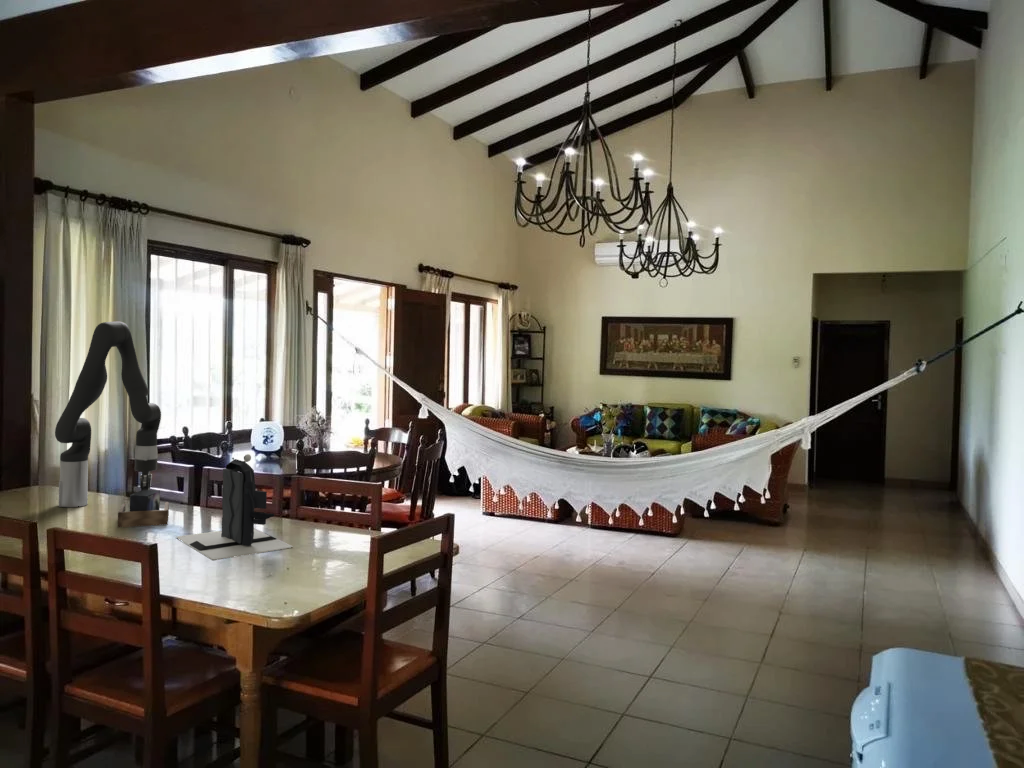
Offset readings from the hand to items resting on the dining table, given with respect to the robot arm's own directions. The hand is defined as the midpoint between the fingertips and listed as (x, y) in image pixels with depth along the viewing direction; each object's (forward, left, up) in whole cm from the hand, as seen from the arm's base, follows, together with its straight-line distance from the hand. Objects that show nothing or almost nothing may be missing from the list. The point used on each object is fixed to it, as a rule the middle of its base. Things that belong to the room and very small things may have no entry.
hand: (145, 503), depth 281 cm
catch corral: (0, -15, -3) cm, 15 cm away
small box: (+1, -15, -4) cm, 16 cm away
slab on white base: (+28, -53, -4) cm, 60 cm away
